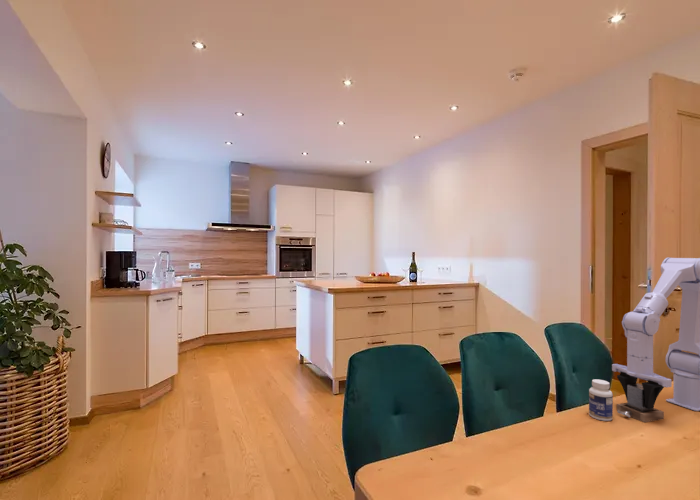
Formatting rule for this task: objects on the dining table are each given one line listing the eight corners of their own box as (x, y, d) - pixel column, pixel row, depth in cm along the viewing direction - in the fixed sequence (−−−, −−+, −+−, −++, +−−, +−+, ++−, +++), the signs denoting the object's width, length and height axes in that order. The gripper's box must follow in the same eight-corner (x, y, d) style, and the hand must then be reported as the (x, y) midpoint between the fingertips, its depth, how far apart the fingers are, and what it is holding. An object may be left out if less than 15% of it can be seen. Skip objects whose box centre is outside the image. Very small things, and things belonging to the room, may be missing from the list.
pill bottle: (584, 415, 103) (584, 379, 103) (596, 411, 105) (596, 377, 105) (604, 423, 98) (605, 386, 98) (617, 419, 100) (617, 383, 100)
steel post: (637, 411, 105) (637, 383, 105) (652, 417, 102) (652, 388, 102) (627, 413, 104) (627, 384, 104) (642, 419, 100) (642, 389, 100)
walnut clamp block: (635, 408, 108) (635, 401, 108) (663, 419, 100) (663, 411, 100) (610, 412, 105) (610, 405, 105) (637, 423, 97) (637, 416, 98)
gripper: (604, 350, 109) (604, 396, 109) (658, 364, 95) (658, 417, 95) (622, 348, 111) (621, 393, 111) (677, 362, 97) (677, 414, 97)
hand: (639, 404), depth 103 cm, fingers open, 4 cm apart
